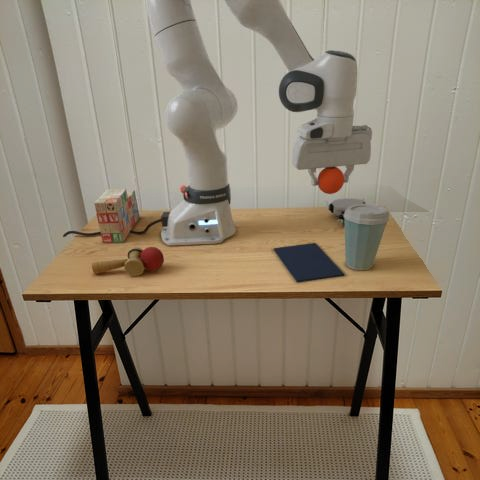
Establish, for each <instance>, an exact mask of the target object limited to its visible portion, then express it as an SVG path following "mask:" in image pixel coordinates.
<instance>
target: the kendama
mask: <svg viewBox="0 0 480 480" xmlns="http://www.w3.org/2000/svg"><path fill="white" fill-rule="evenodd" d="M164 262H165V257H164V254H163V251H161V249H159V248H158V247H156V246H148V247H146V248H144V249H142V248H141V247H138V246H133V247H131V248H130V249H129V250H128V252H127V259H126V258H123V259H113V260H105V261H104V260H103V261H95V262H92V263H91V269H92V273H93V274H94V275H98V274H101V273H105V272H108V271H113V270H117V269H121V268H123V267H124V268H123V269H124V271H125V273H126V274H127V275H130V276H132V277H137V276H140V275H142V274H143V273H144V270H147V271H150V272H151V271H152V272H153V271H157V270H159V269H161V267H163V264H164Z"/></svg>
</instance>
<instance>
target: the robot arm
mask: <svg viewBox="0 0 480 480" xmlns="http://www.w3.org/2000/svg"><path fill="white" fill-rule="evenodd" d="M223 1H224V2H225V4H226V6H227V8H228V9H229V11H230V13H231V14H232V15H233V17H234V18H235V19H236V20H237V21H238V23H239V24H240V25H241V26H243V28H246V29H249V30H250V31H252V32H255V33H256V34H259V35H261V36H262V37H263V38H265V39H266V40H267V41H268V42H269V43H270V44H271V45H272V46H273V48H274V49H275V51H276V53H277V54H278V56H279V58H280V59H281V60H282V63H283V64H284V66H285V68H286V69H287V71H288V72H286V73H285V75H284V76H283V77H282V79H281V80H280V83H279V86H278V97H279V101H280V103H281V105H282V106H283V107H284V108H285V109H286V110H287V111H290V112H292V113H304V112H307V111H313V110H314V111H316V118H314V119H312V120H310V121H307V122H306V123H303V124H300V125H298V126H297V129H296V134H297V135H298V137H297V138H296V139H295V140H294V143H293V149H292V156H291V157H292V159H291V163H292V166H293V167H294V168H295V169H296V170H298V171H302V170H303V171H304V170H307V172H308V175H309V176H310V178H311V185H312V186H313V187H316V186H318V185H319V178H318V176H316V175H315V173H316V172H317V169H324V168H326V167H337V168H338V167H345V172H343V175H344V184H345V183H347V184H348V183H349V179H350V175H351V174H352V173H353V172H354V170H355V166H357V165H367V164H368V163H369V162H370V160H371V157H372V155H371V153H372V152H371V151H372V145H371V144H372V143H371V142H372V141H371V140H372V137H373V130H372V128H371V126H368V125H367V124H363V125H354V119H355V109H354V102H355V99H356V96H357V87H358V62H357V59H356V58H355V56H354V55H353V54H351V53H348V52H345V51H341V50H331V49H330V50H326V51H324V52H323V53H322V54H321V55H320V56H319V57H317V58H315V59H314V58H313V57H312V55H311V54H310V52H309V51H308V49H307V47H306V45H305V44H304V42H303V40H302V39H301V36H300V35H299V34H298V31H297V30H296V28H295V26H294V25H293V23H292V21H291V19H290V18H289V16H288V14H287V11H286V10H285V7H284V5H283V3H282V2H281V0H223ZM144 2H145V7H146V12H147V16H148V20H149V23H150V27H151V30H152V33H153V36H154V41H155V42H156V46H157V48H158V51H159V54H160V56H161V59H162V62H163V64H164V68H165V70H166V72H167V73H168V74H169V75H170V76H171V77H172V78H174V79H175V80H176V82H177V83H179V85H180V86H181V88H182V90H183V91H182V92H180V93H179V94H177V95H176V96H175V97H173V98H172V99H170V100H169V101H168V103H167V104H166V107H165V110H164V119H165V123H166V126H167V128H168V129H169V131H170V132H171V134H172V135H174V136H175V137H176V138H177V139H178V141H179V143H180V146H181V148H182V149H183V152H184V156H185V160H186V167H187V172H188V173H187V175H188V186H186V185H184V184H182V185H180V188H179V190H180V192H181V194H182V197H183V200H182V201H181V202H179V204H177V206H175V207H174V208H173V209H172V210H170V211H163V212H162V214H161V216H160V218H159V219H157V220H154V221H152V222H151V223H149V224H148V225H146V227H145V228H144V230H141V231H136V230H132V229H131V230H130V233H129V234H134V235H144V234H146V233H147V232H148V231H149V229H150V228H151V227H152V226H154V225H156V224H159V223H161V227H162V229H161V231H160V238H161V241H162V243H164V244H165V245H167V246H169V247H171V246H189V245H190V246H195V245H214V244H221V243H222V242H224V241H225V240H226V239H228V238H230V237H232V236H233V235H235V234H236V232H237V228H236V225H235V223H234V219H233V214H232V209H231V200H232V194H231V186H230V183H229V176H228V175H229V173H228V158H227V155H226V153H225V152H224V151H223V150H222V149H221V147H220V145H219V142H218V137H217V131H219V130H222V129H224V128H225V127H227V126H228V125H229V124H231V122H232V121H233V120H234V119H235V118H236V116H237V113H238V110H239V109H238V99H237V97H236V96H235V94H234V92H233V91H232V90H231V89H229V87H227V86H226V84H225V83H224V81H223V80H222V78H221V77H220V75H219V73H218V72H217V70H216V68H215V66H214V65H213V63H212V61H211V59H210V56H209V54H208V52H207V49H206V46H205V43H204V40H203V37H202V34H201V31H200V29H199V25H198V22H197V19H196V15H195V12H194V9H193V6H192V0H144ZM70 234H72V235H73V234H75V235H79V236H85V237H91V236H93V237H94V236H99V235H101V231H100V230H99V231H96V232H82V231H77V230H68V231H67V232H65V233H64V234H63V235H62V238H65V237H67V236H68V235H70Z"/></svg>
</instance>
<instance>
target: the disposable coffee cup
mask: <svg viewBox="0 0 480 480" xmlns="http://www.w3.org/2000/svg"><path fill="white" fill-rule="evenodd" d="M388 209H389V208H386V207H385V206H384V207H383V206H381V205H376V204H369V203H368V204H367V203H366V204H358V205H352V206H349V207H348V208H347V209H346V210H345V213H344V216H343V217H344V222H343V223H344V248H345V249H344V251H345V263H346V266H347V267H348V268H350V269H352V270H354V271H355V270H356V271H368V270H369V269H371V268H372V266H373V265H374V263H375V260H376V257H377V254H378V251H379V248H380V245H381V242H382V238H383V235H384V232H385V230H386V226H387V222H389V221H390V212H389V211H388Z"/></svg>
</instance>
